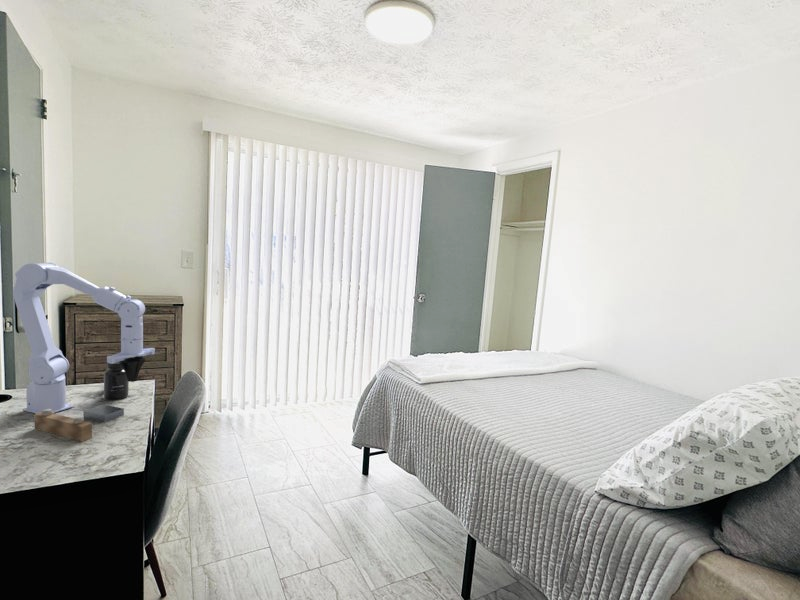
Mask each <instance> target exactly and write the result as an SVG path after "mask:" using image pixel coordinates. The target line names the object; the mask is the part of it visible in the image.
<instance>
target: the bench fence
mask: <svg viewBox="0 0 800 600" xmlns="http://www.w3.org/2000/svg"><path fill="white" fill-rule="evenodd" d="M33 415H34V429H35V430H39V431H42V432H46V433H49V434H52V435H57V436H61V437H65V438H68V439H72V440H75V441H79V442H84V441H87V440H91V439H92V438H93V422H91V421H87V420H86V421H85V420H84V419H85V418H84V417H83V416H76V417H74V418H73V417H69V416H66V415H62V414H61V415H60V414H58V413H52V409H46V410H43V411H42V412H41V413H37V414H36V413H33Z"/></svg>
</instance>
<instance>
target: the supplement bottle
mask: <svg viewBox="0 0 800 600" xmlns="http://www.w3.org/2000/svg"><path fill="white" fill-rule="evenodd" d="M129 382H130V381H128V379H127V376H126V373H125V371H124V369H123V367H122V365H121V364H120V363H119V362H115V363H113V364H111V363H107V370H105V371H104V373H103V398H104V400H107V401H119V400H122V399H125V398H127V397H128V396H129V389H130V387H129V386H130V385H129Z"/></svg>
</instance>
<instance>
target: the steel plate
mask: <svg viewBox="0 0 800 600" xmlns="http://www.w3.org/2000/svg"><path fill="white" fill-rule="evenodd" d="M82 412H83V413H82V414H83V416H82V417H84V419H87V420H90V421H96V422H101V423H104V424H105V423H107V422H110V421H113V420H115V419H118V418H121V417H123V416H124V415H125V408H124V407H117V406H113V405H108V404H100V405H97V406H95V407H91V408H88V409H85V410H83V411H82Z"/></svg>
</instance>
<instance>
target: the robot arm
mask: <svg viewBox="0 0 800 600" xmlns="http://www.w3.org/2000/svg"><path fill="white" fill-rule="evenodd" d="M14 275H15V277H16V280H15V283H14V287H13V290H12V296H13V300H14V301H15V302H14V303H15V306H16V308H17V311H18V315H19V317H20V318H19V319H20V320H21V324H22V327H23V330H24V333H25V336H26V338H27V342H28V344H29V349H30V351H31V353H30V355H29V358H28V361H27V362H28V366H29V369H28V373H27V374H28V378H29V379H30V380H31V381H30V382H29V383H28V384H27V386H26V407H25V408H23V411H25V412H28V413H32V414H37V413H41V412H42V411H43V410H46V409H52V413H54V414H56V413H58V412H61V411H64V410H68V409H69V410H70V409H72V408H74V405H72V404H69V403H67V399H66V398H67V396H66V395H67V394H66V392H67V391H66V389H67V388H66V373H67V372H68V371H69V368H70V363H69V360H68V359H67V358H66V357H65V356H64V354H63V351H62V350H61V349H60V348H58V347H57V346H56V345H55V342H54V339H53V338H54V337H53V335H52V332H51V329H50V327H49V326H50V325H49V324H48V320H47V316H46V313H45V311H44V308H43V307H44V306H43V304H42V301H41V298H40V296H41V295H42V294H43V293H44V292H45V291H46V290H47V288H49V287H51V286H52V285H65V286H67V287H69V288H72V289H74V290H76V291H79V292H81V293H82V294H83V293H84V294H85V295H87V296H90V297H92V300H93V302H94V304H95V303H96V304H97V305H98V306H102V307H103V308H106V309H107V310H110V311H112V312H114V313H117V315H118V316H119V318H120V322H121V323H120V352H118V353H115V354H112V355H108V356H106V363H107V364H108V363H111V364H113V363H115V362H119V363H120V364H121V365H122V367H123V369H124V371H125V373H126V376H127V379H128V381H129V382H131V383H134V382H136V381H137V380H138V378H139V373H140V371H141V368H142V367H143V365H144V363H145V362H146V358H145V356H148V355H149V356H150V355H156V348H155V347H146V348H144V323H143V322H144V320H143V319H144V318H143V315H144V313H145V312H146V306H145V304H144V302H143V301H141V300H140V299H139V298H132V296H131V295H128V294H127V295H125V294H124V293H121V292H119V291H117V290H116V288H117V287H114V286H110V287H109V286H102V287H99V286H98V285H96V284H94V283H92V282H90V281H89V280H87V279H85V278H83V277H81V276H79V275H77V274H75V273H73V272H72V271H70V270H69V269H67V268H65V267H62V266H58V265H57V264H56V263H53V262H44V263H43V262H42V263H35V262H32V263H31V262H29V263H26V264H24V265H22V266H21V267H20V268H19V269H18V271H16V272H15V274H14Z"/></svg>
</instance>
